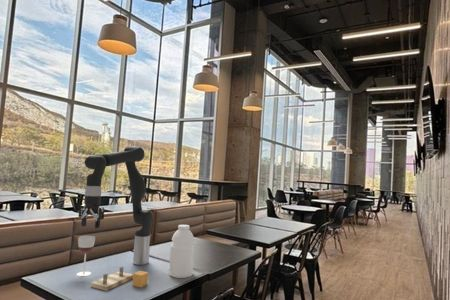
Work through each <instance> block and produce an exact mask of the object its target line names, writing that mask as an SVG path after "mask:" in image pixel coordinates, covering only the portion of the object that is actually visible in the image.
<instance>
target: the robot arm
mask: <svg viewBox="0 0 450 300" xmlns="http://www.w3.org/2000/svg"><path fill="white" fill-rule="evenodd" d="M144 158H145V150H144V148H143V147H141V146H133V145H132V146H130V145H129V146H126V147H124V150H123V151H115V152H114V151H113V152H107V153H102V154H91V155H89V156H86V158H85V159H84V165H85V167H86V168H87V169H88V170H89V169H90V170H93V172H92V173H89V174H88V175H87V176H86V182H85V183H86V186H85V189H84V202H83V203H84V204H80V205H79V209H78V210H79V211H78V218H80V219H81V223H80V224H81V227H86V226H87V217H88V216H92V218H94V220H95V221H94V229H98V228H100V226H101V221H102V220H104V219H105V207H104V206H102V207H100V205H101V198H102V197H101V196H102V179H103V176H104V173H105V170H106V167H111V166H115V165H119V164H125V167H126V170H127V175H128V176H127V177H128V181H129V183H128V184H129V190H130V195H131V203H132V217H133V221H134V223H135V224H138V225H142V227H141V228H140V229H136V230H135V232H134V242H133V243H134V244H133V257H132V264H133V265H135V266H136V265H137V266H140V265H141V266H144V265H147V264H148V262H149V260H150V241H151V240H150V239H151V231H152V226H153V219H154V218H153V217H154V215H153V212H152V211H151V210H147V209H143V207H142V201H143V198H144V196H145V194H146V191H147V187H146V182H145V179H144V177H143V175H142V174H141V173H140V171H139V170H138V168H137V166H136V163H138V162H142V161H143V160H144Z"/></svg>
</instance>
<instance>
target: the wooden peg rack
mask: <svg viewBox="0 0 450 300" xmlns="http://www.w3.org/2000/svg"><path fill="white" fill-rule="evenodd" d="M133 274H134V273H130V272H129V273H128V272H125V271H124V266H120V267H119V271H115V272H114V273H111V274H108V273H106V272H105V273H103V276H102V278H99V279H97V280H94V281H92V282H91V283H90V287H91V288H93V289H97V290H102V291H105V292H106V291H107V292H108V291H109V290H112V289H113V288H115V287H118V286H120V285H122V284H124V283H126V282H128V281H130V280H133Z"/></svg>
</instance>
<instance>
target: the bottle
mask: <svg viewBox="0 0 450 300" xmlns="http://www.w3.org/2000/svg"><path fill="white" fill-rule="evenodd" d="M171 241H172V243H171V244H170V255H169V268H168V274H169V276H170V277H173V278H177V279H178V278H179V279H184V278H185V279H186V278H189V277H192V276H193V274H194V261H195V260H194V259H195V248H196V247H195V246H196V245H194V243H193V242H195V237H194V235H193V233H192V231H191V230H190V225H189V224H178V226H177V230H176V231H175V232H174V233H173V235H172V237H171Z"/></svg>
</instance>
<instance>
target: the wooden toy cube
mask: <svg viewBox="0 0 450 300" xmlns="http://www.w3.org/2000/svg"><path fill="white" fill-rule="evenodd" d="M132 274H133V279H132V287H137V288H143V287H145V286H147V285H148V280H149V278H148V277H149V272H148V271H143V270H138V271H136V272H134V273H132Z"/></svg>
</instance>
